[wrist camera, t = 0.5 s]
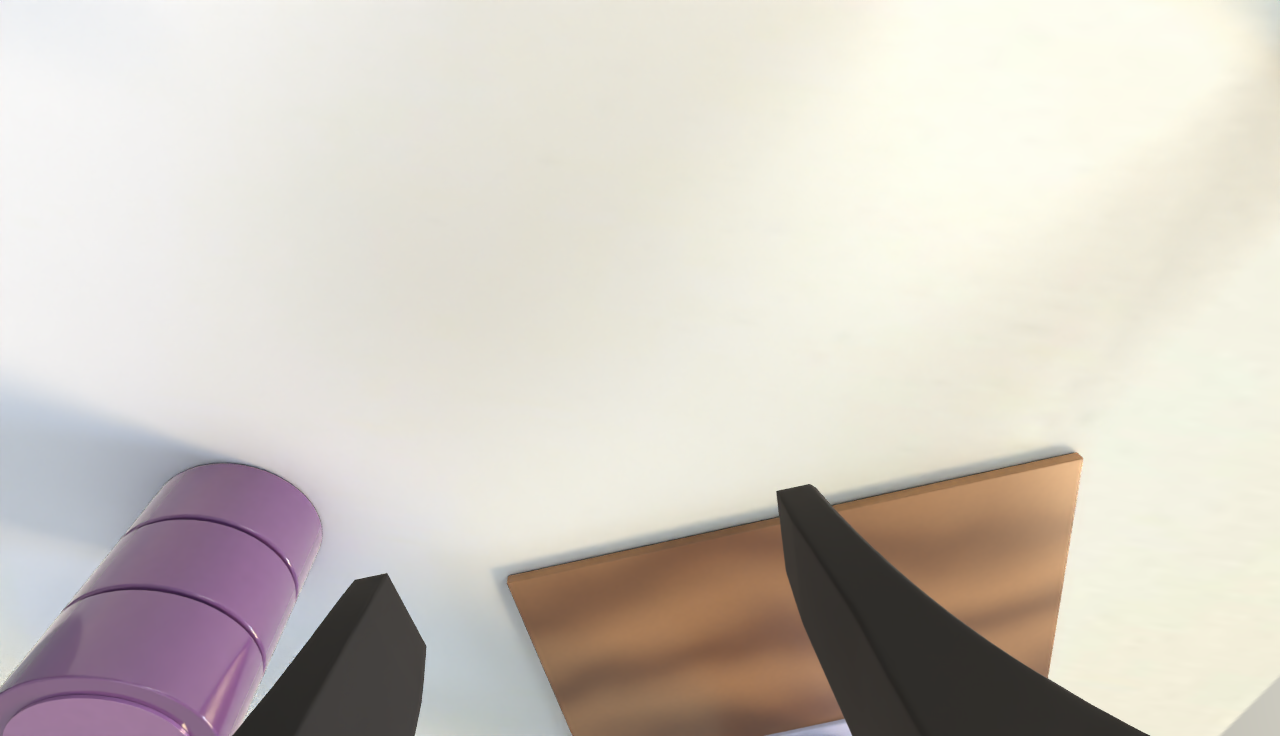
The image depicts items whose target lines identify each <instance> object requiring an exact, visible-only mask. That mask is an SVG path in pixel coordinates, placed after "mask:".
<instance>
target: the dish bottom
mask: <svg viewBox="0 0 1280 736" xmlns="http://www.w3.org/2000/svg"><path fill="white" fill-rule="evenodd" d="M178 519H190V520H202V521H209V522H214V523H218V524H222V525H226V526H229V527H232V528H235V529H237V530H240V531H242V532H245V533H247V534H249V535H250V536H252V537H254V538H256V539H258V540H259V541H261V542H262V543H264V544H265V545H267V546H268V547H269V548H270V549H272V550H273V551H274V552H275V553H276V554H277V555H278V556H279V557H280V558H281V559H282V560H283V562H284V563H285V564H286V566H287V567H288V569H289V571H290V573H291V575H292V577H293V580H294V584H295V590H296V600H295V603H296V601H297V599H298V596H299V594H300V592H301V590H302V587H303V585H304V583H305V581H306V578H307V576H308V574H309V571H310V569H311V567H312V565H313V562H314V560H315V558H316V556H317V553H318V551H319V549H320V546H321V542H322V526H321V522H320V518H319V515H318V513H317V511H316V509H315V508H314V506H313V505H312V503H311V502H310V501H309V500H308V498H307V497H306V496H305V495H304V494H303V493H302V492H301V491H300V490H298V489H297V488H296V487H295V486H293V485H292V484H290V483H289V482H288V481H286V480H284V479H282V478H280V477H279V476H277V475H274V474H272V473H270V472H268V471H265V470H262V469H259V468H255V467H251V466H246V465H240V464H230V463H217V464H207V465H201V466H197V467H194V468H191V469H188V470H186V471H184V472H181V473H179V474H178V475H176V476H174V477H173V478H171V479H170V480H169V481H168V482H167V483H166V484H165V485H164V486H163V487H162V488H161V490H160V491H159V492H158V493H157V494H156V496H155V497H154V498H153V499H152V501H151V502H150V503H149V504H148V506H147V507H146V508H145V509H144V511H143V512H142V513H141V514H140V515H139V517H138V518H137V519H136V520H135V522H134V523H133V524H132V525H131V527H130V528H129V529H128V530H127V532H126V533H125V534H124V535H123V536H122V538H123V537H125V536H126V535H127V534H129V533H131V532H132V531H134V530H136V529H138V528H141V527H143V526H145V525H149V524H152V523H156V522H160V521H167V520H178ZM122 538H121V539H122ZM121 539H120V540H121ZM120 540H119V541H120ZM119 541H118V542H119ZM294 605H295V604H294Z"/></svg>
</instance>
